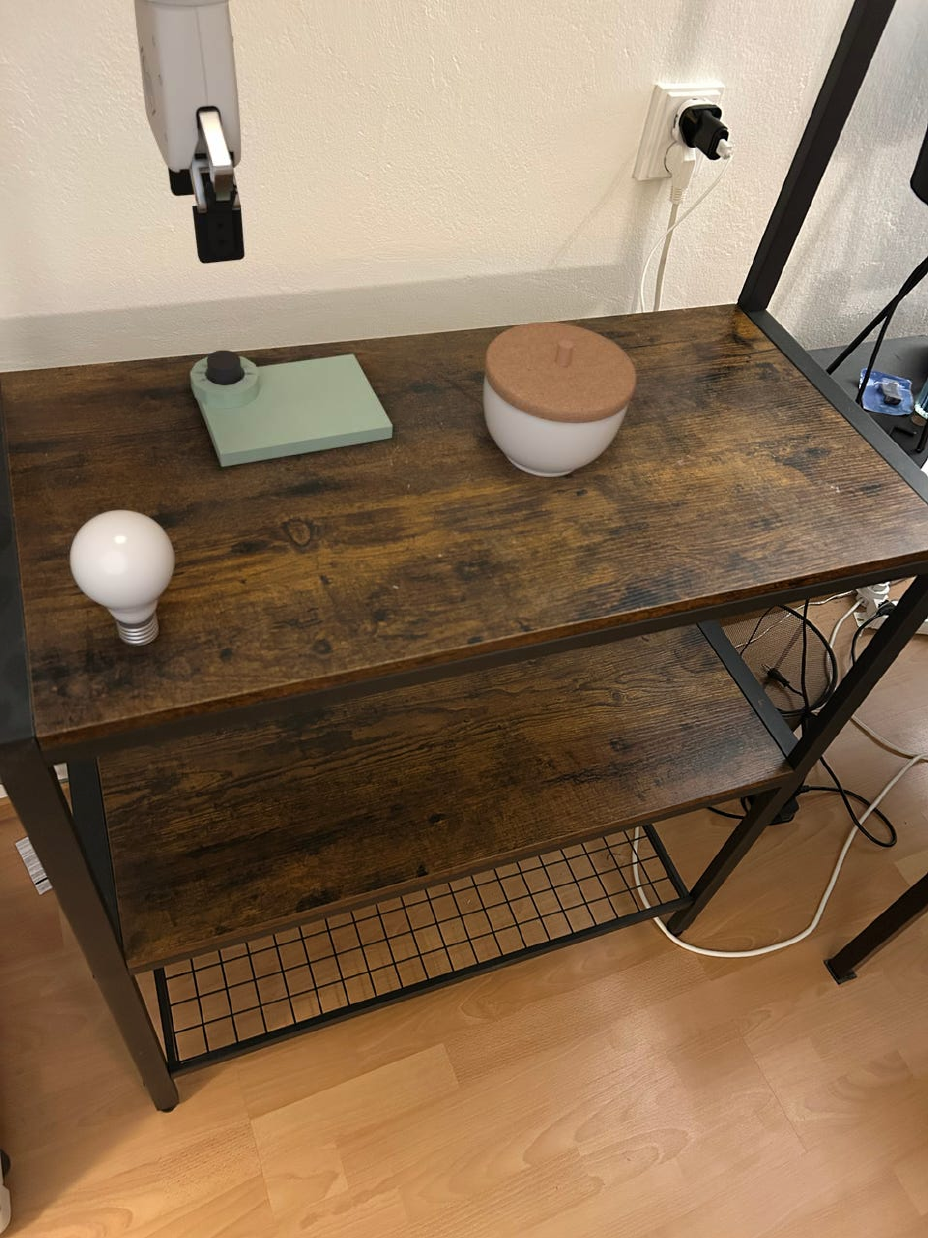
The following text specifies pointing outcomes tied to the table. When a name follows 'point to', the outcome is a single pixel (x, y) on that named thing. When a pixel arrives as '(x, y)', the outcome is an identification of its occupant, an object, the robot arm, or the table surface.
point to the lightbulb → (124, 569)
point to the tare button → (224, 367)
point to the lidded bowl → (555, 395)
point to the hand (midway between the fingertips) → (206, 224)
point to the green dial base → (289, 409)
